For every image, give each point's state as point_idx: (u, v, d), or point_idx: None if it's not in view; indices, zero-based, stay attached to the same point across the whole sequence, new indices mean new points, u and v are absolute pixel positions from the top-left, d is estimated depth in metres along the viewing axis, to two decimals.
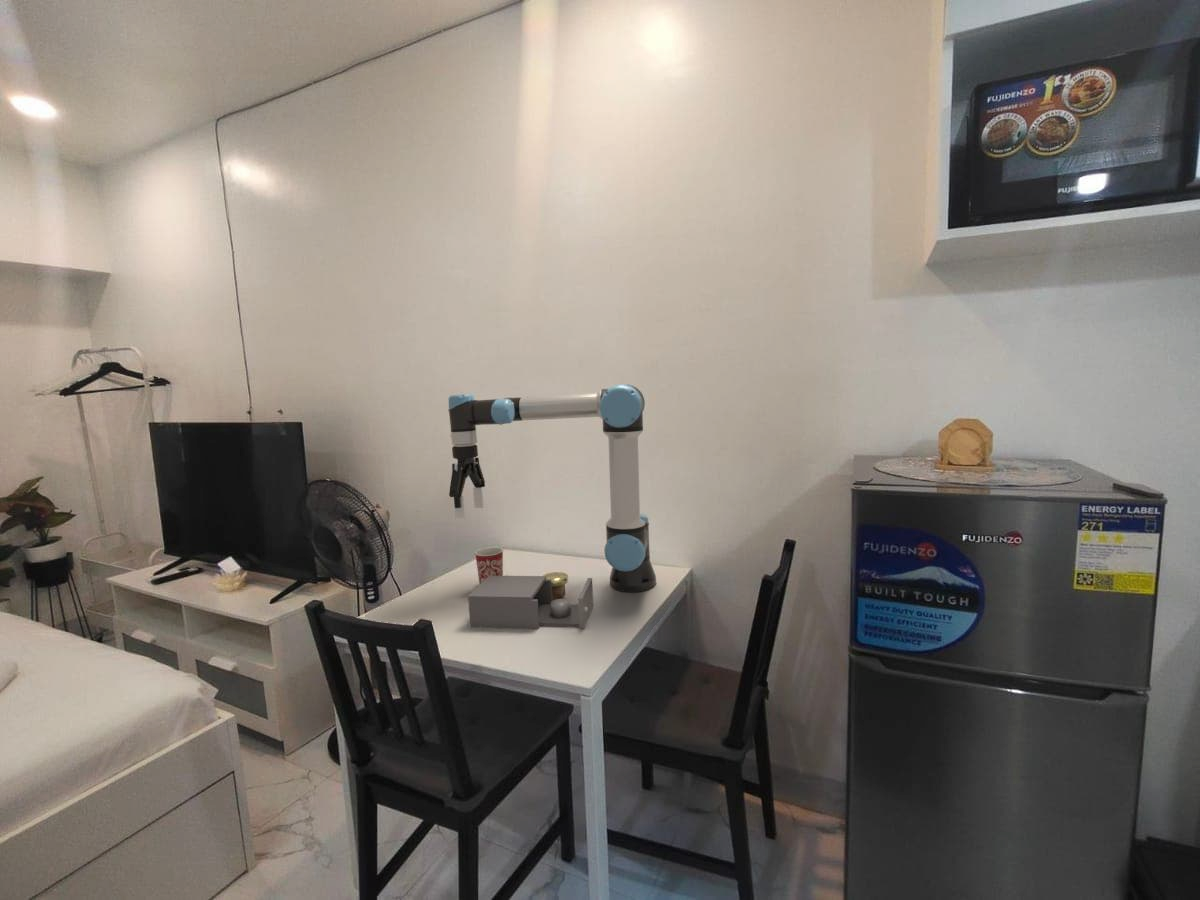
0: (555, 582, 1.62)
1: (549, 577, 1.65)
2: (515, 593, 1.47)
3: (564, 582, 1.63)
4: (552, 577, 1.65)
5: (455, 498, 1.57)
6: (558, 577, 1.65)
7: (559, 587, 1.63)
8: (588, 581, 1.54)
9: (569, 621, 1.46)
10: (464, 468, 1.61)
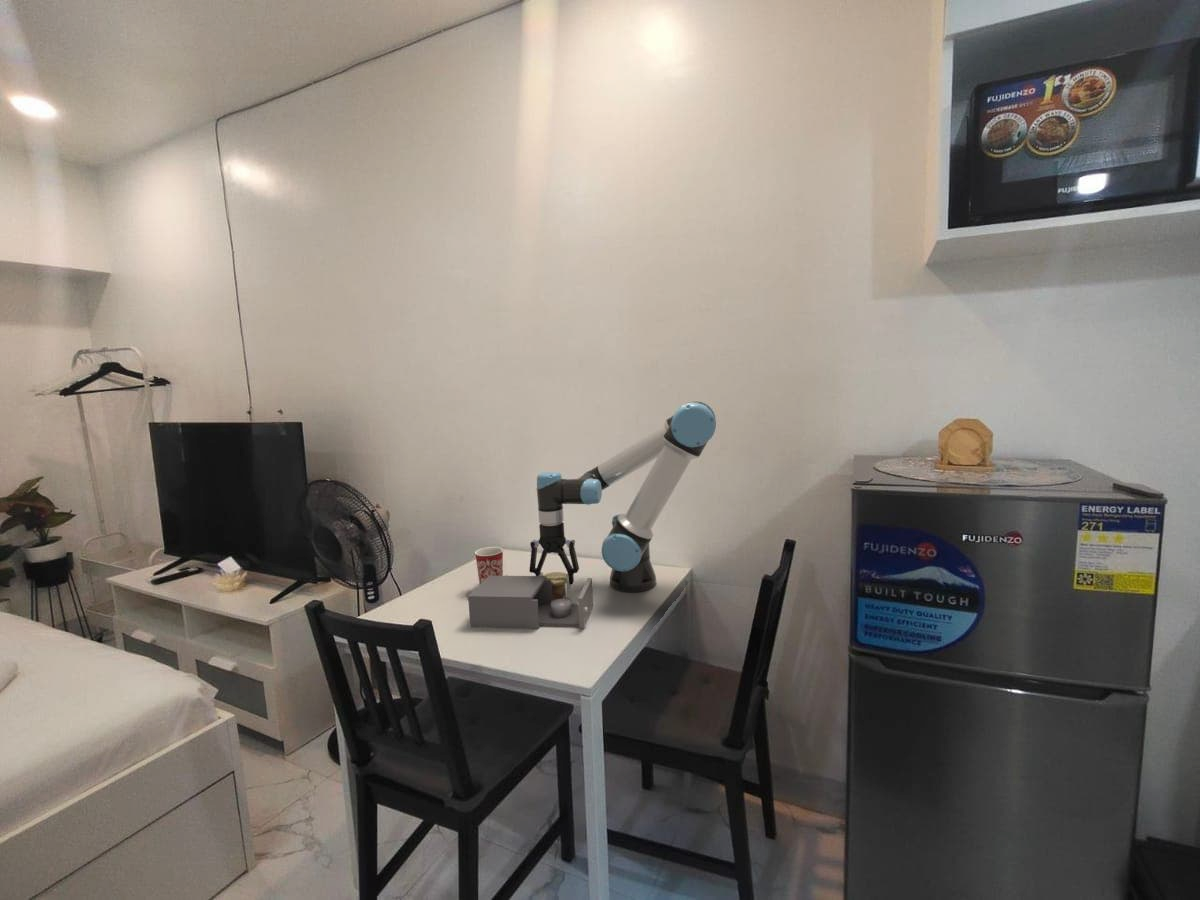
0: (555, 582, 1.62)
1: (549, 577, 1.65)
2: (515, 593, 1.47)
3: (564, 582, 1.63)
4: (552, 577, 1.65)
5: None
6: (558, 577, 1.65)
7: (559, 587, 1.63)
8: (588, 581, 1.54)
9: (569, 621, 1.46)
10: (542, 545, 1.64)
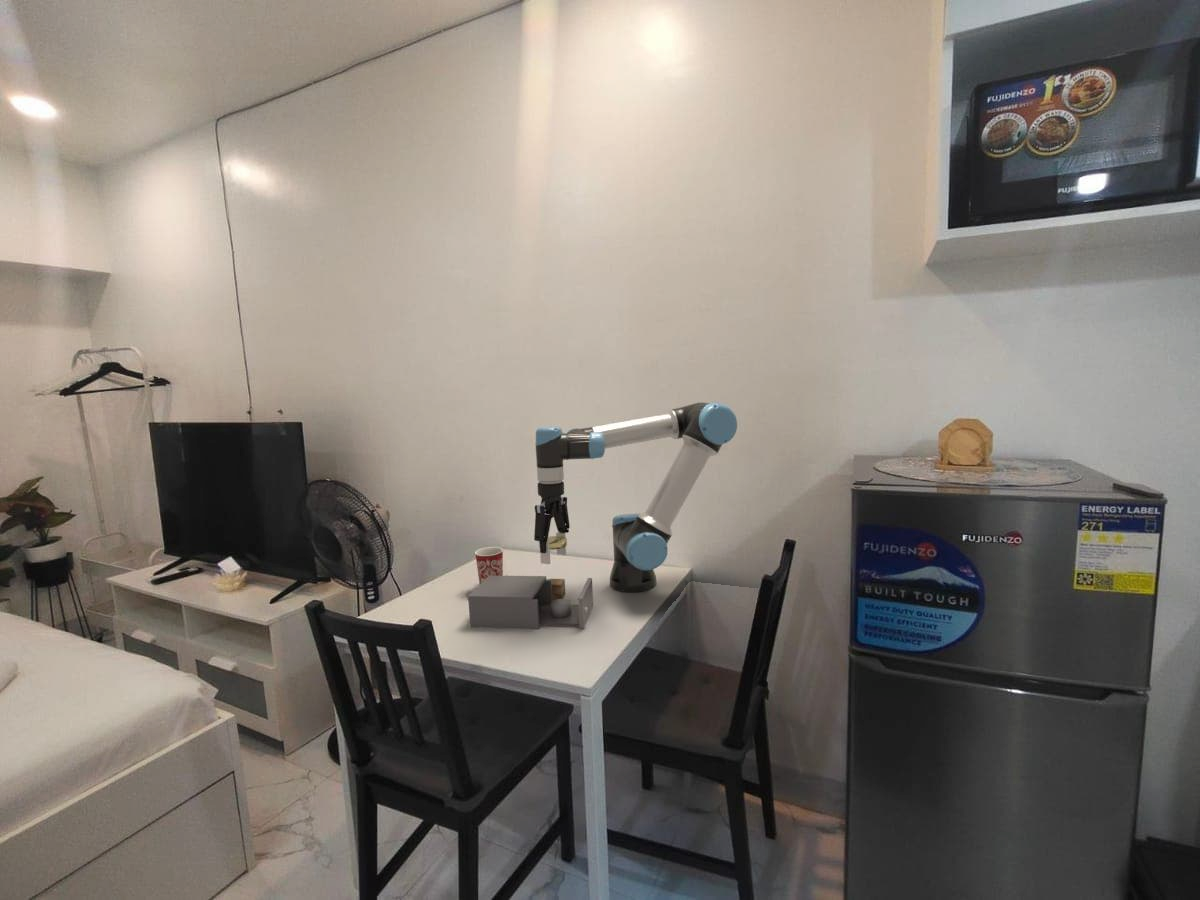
0: (566, 541, 1.53)
1: (552, 541, 1.52)
2: (515, 593, 1.47)
3: None
4: (555, 540, 1.53)
5: (541, 543, 1.49)
6: (556, 538, 1.55)
7: (559, 587, 1.63)
8: (588, 581, 1.54)
9: (569, 621, 1.46)
10: (548, 507, 1.50)
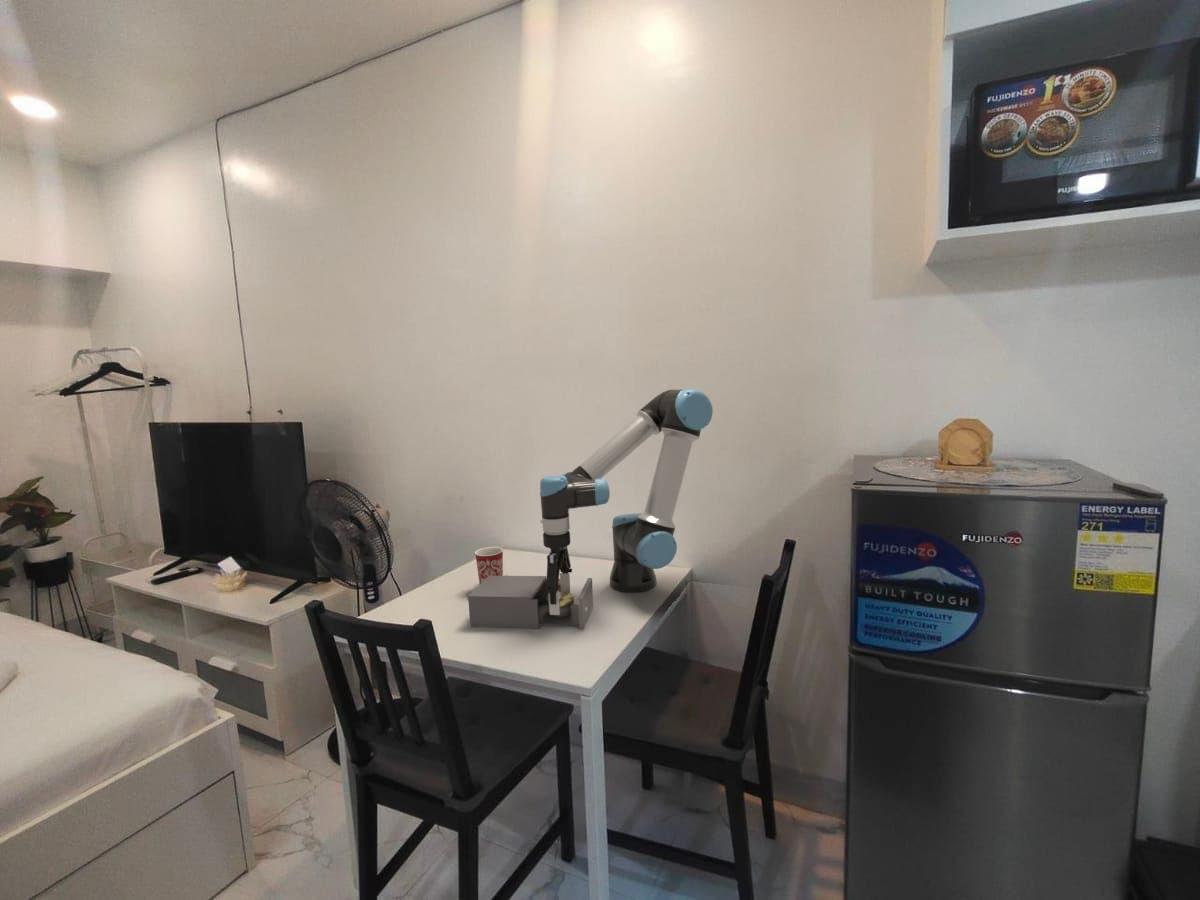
0: None
1: (561, 599, 1.50)
2: (515, 593, 1.47)
3: None
4: (563, 597, 1.51)
5: (551, 594, 1.43)
6: (562, 595, 1.52)
7: (559, 587, 1.63)
8: (588, 581, 1.54)
9: (569, 621, 1.46)
10: (558, 558, 1.46)
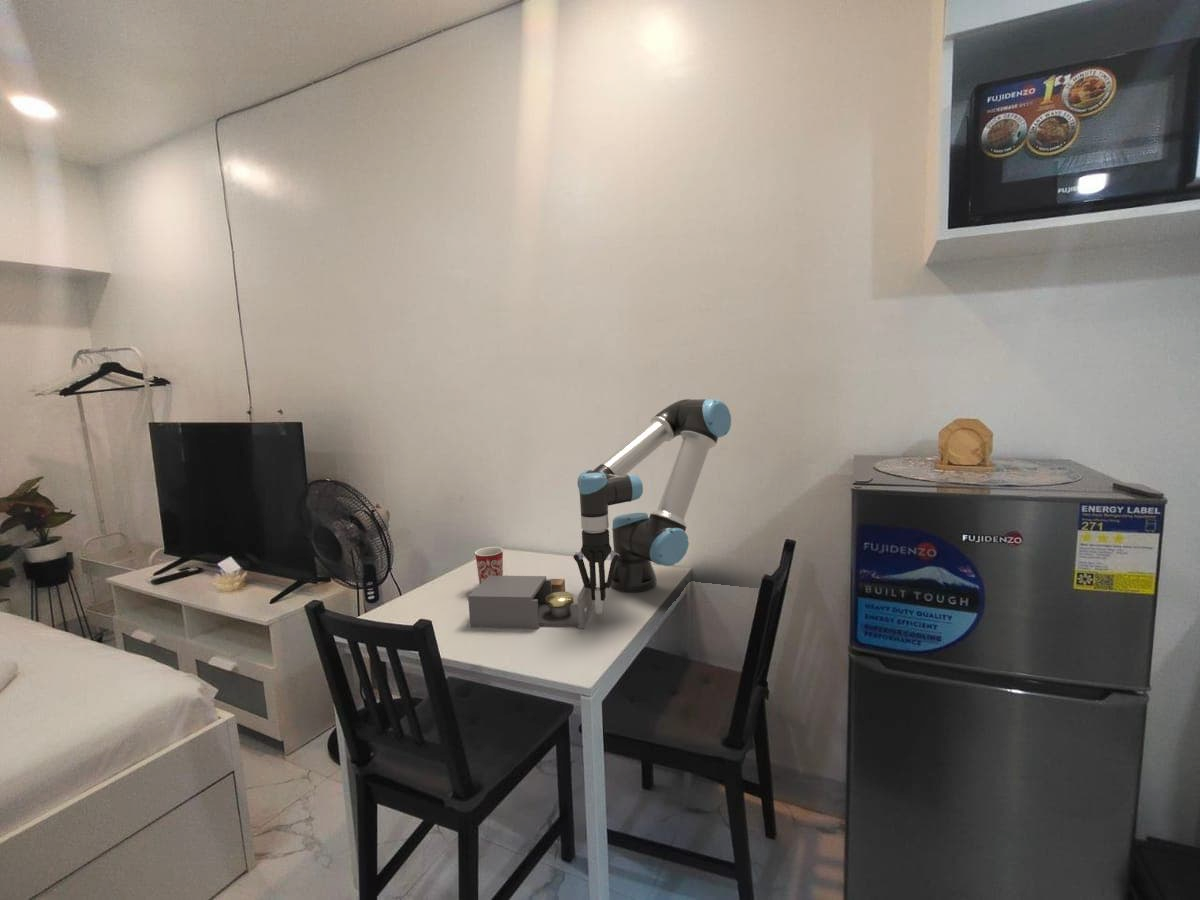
0: None
1: (560, 599, 1.50)
2: (515, 593, 1.47)
3: None
4: (562, 597, 1.51)
5: None
6: (561, 595, 1.53)
7: (559, 587, 1.63)
8: None
9: (568, 621, 1.46)
10: (586, 554, 1.47)
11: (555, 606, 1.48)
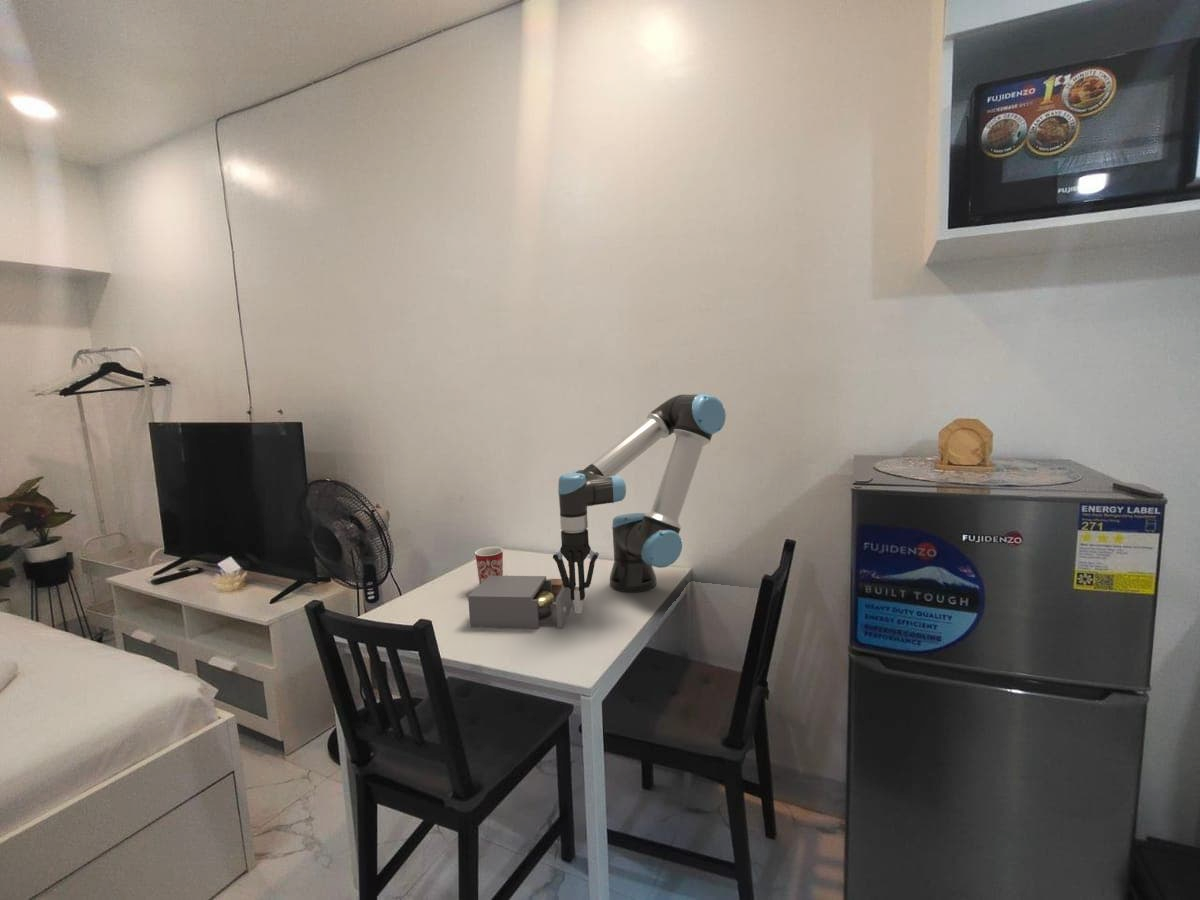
0: None
1: (541, 598, 1.51)
2: (515, 593, 1.47)
3: None
4: (542, 597, 1.52)
5: None
6: (541, 594, 1.53)
7: (559, 587, 1.63)
8: None
9: (547, 621, 1.47)
10: (565, 553, 1.48)
11: None
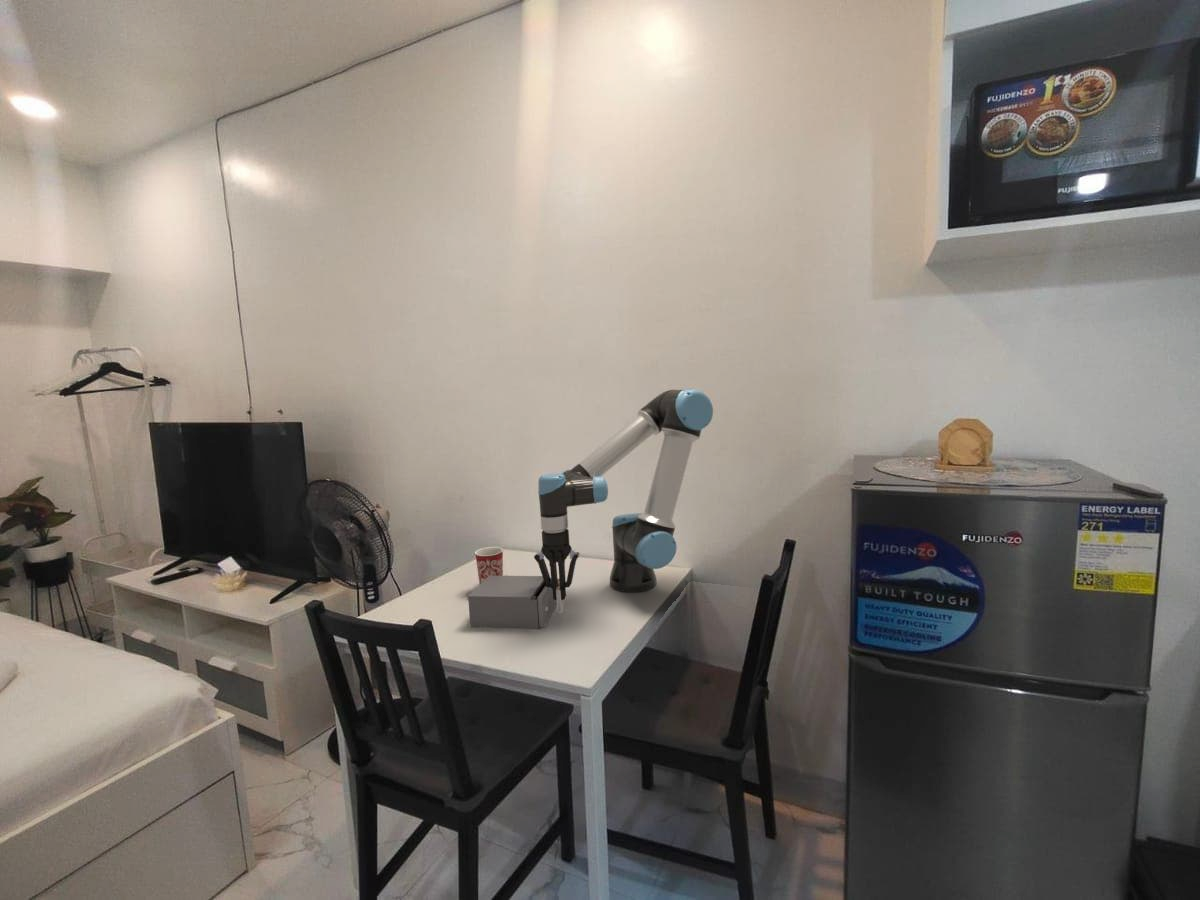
0: (535, 595, 1.54)
1: None
2: (515, 593, 1.47)
3: None
4: None
5: None
6: None
7: None
8: None
9: None
10: (546, 553, 1.49)
11: None
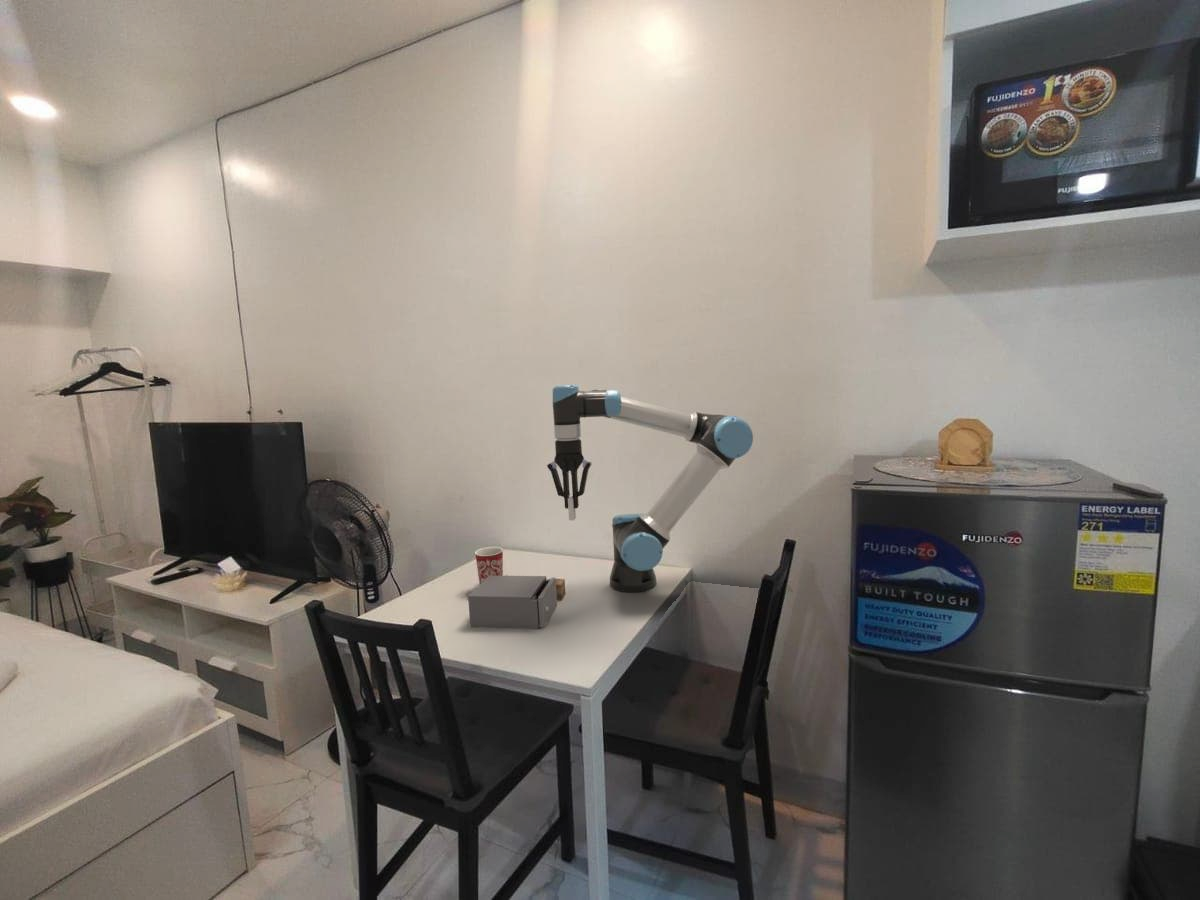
0: None
1: None
2: (515, 593, 1.47)
3: None
4: None
5: None
6: None
7: (559, 587, 1.63)
8: (551, 581, 1.56)
9: None
10: (559, 463, 1.54)
11: None
